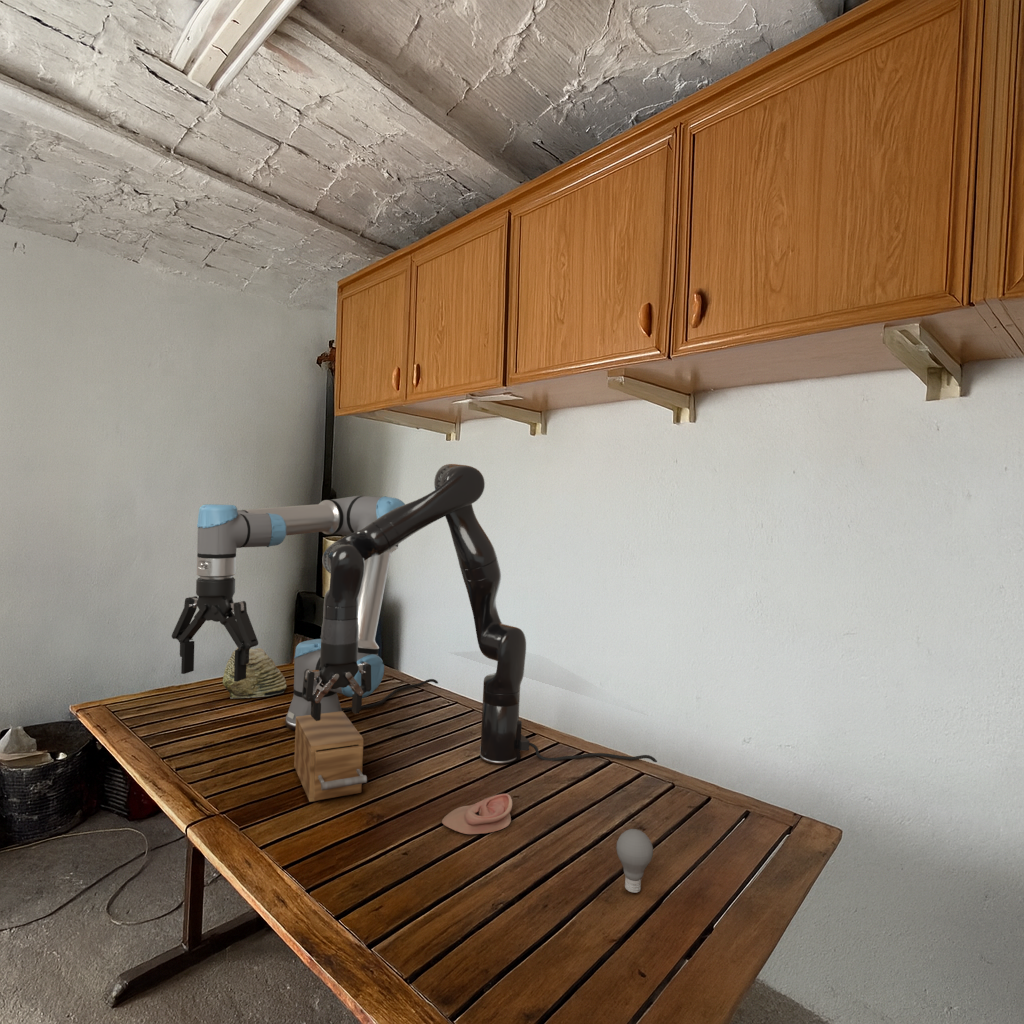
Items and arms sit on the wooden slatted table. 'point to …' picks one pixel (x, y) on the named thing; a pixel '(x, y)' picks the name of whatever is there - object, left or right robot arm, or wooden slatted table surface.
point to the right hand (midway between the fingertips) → (336, 716)
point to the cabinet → (321, 743)
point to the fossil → (255, 677)
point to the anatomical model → (481, 816)
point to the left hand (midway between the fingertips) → (213, 676)
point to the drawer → (338, 772)
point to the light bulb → (634, 857)
